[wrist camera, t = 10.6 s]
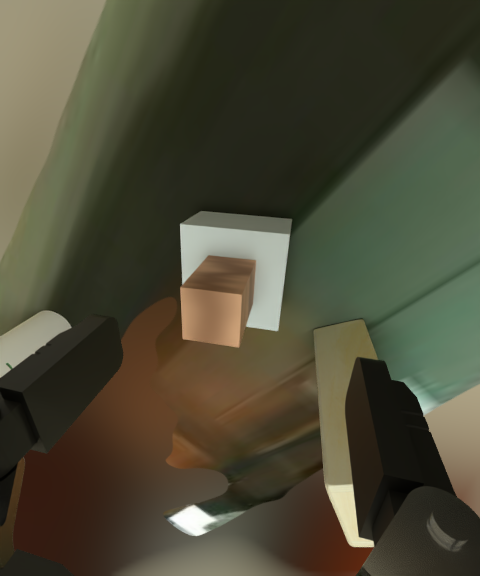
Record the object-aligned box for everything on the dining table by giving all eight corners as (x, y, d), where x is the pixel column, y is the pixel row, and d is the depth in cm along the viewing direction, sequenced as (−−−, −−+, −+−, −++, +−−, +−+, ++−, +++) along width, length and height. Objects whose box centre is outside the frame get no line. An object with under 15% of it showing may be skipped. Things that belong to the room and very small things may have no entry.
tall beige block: (382, 365, 41) (450, 550, 22) (327, 374, 43) (347, 548, 24) (369, 316, 38) (434, 478, 19) (312, 328, 40) (321, 484, 22)
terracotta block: (256, 260, 30) (241, 294, 23) (253, 303, 32) (239, 347, 25) (208, 255, 31) (180, 287, 24) (208, 297, 33) (182, 338, 26)
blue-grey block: (292, 219, 35) (289, 234, 28) (281, 302, 39) (277, 331, 33) (201, 210, 36) (180, 224, 30) (201, 291, 41) (183, 317, 35)
